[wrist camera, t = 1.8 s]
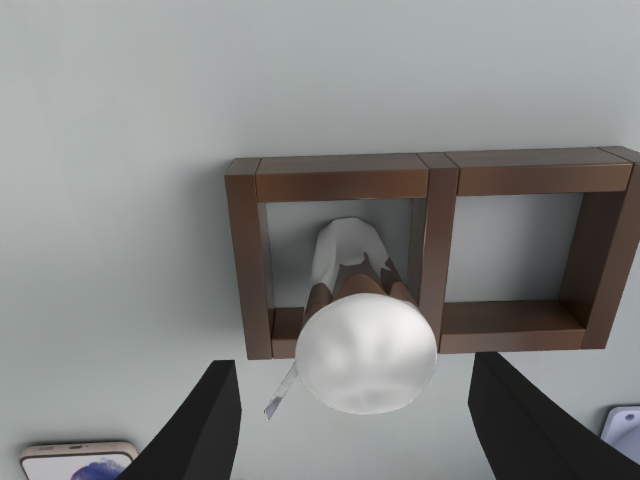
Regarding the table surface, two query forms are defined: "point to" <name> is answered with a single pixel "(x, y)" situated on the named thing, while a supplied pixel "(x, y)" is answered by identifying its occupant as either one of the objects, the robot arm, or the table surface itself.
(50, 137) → the table surface
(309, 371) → the milkshake
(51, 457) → the smartphone
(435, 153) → the crate
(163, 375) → the table surface
